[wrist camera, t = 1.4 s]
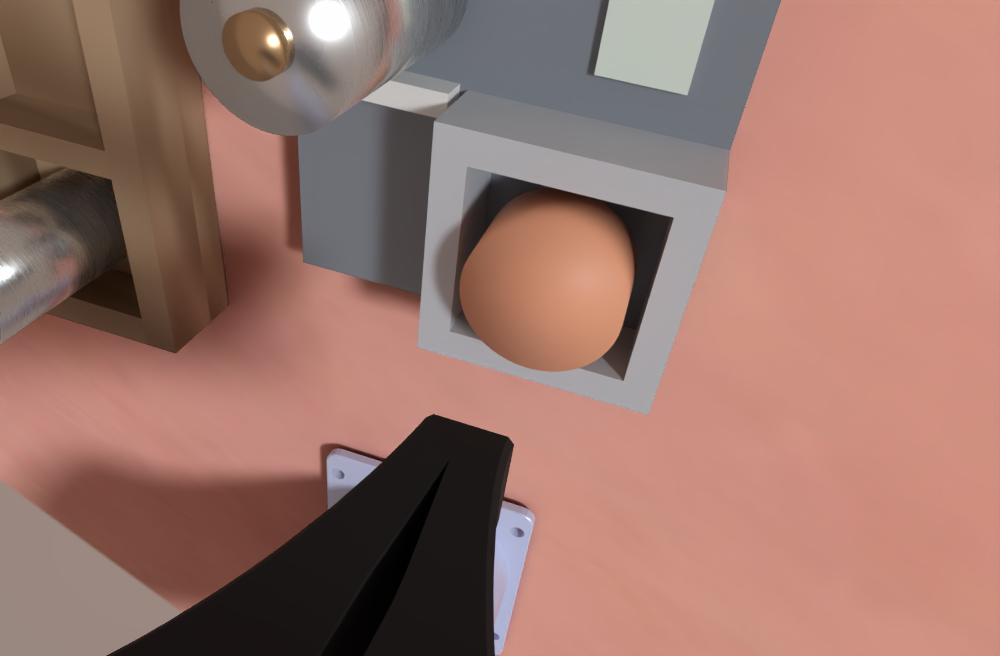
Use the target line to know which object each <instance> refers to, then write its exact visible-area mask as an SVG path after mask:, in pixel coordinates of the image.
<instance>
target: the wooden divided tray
mask: <svg viewBox="0 0 1000 656" xmlns="http://www.w3.org/2000/svg"><path fill="white" fill-rule="evenodd" d="M65 168H70V169H74V170H78V171H81V172H85V173H89V174H92V175H96V176H100V177H103V178H107V179H111V180H112V185H113V190H114V194H115V199H116V203H117V208H118V212H119V217H120V222H121V226H122V231H123V235H124V240H125V244H126V249H127V254H128V256H127V257H126V258H125V259H123V260H122V261H120V262H119V263H117V264H116V265H114V266H113V267H112V268H110V269H109V270H107V271H106V272H104V273H103V274H101V275H100V276H98V277H97V278H96V279H94V280H93V281H91V282H90V283H88V284H87V285H85V286H84V287H83V288H81V289H80V290H78V291H77V292H75V293H74V294H72V295H71V296H70V297H68V298H67V299H65V300H64V301H62V302H61V303H59V304H58V305H56V306H55V307H54V308H52V309H51V310H49V311H48V312H46V313H47V314H51V315H54V316H57V317H60V318H64V319H67V320H70V321H73V322H76V323H80V324H83V325H86V326H89V327H93V328H96V329H99V330H102V331H105V332H109V333H112V334H115V335H118V336H122V337H125V338H128V339H131V340H134V341H138V342H141V343H144V344H147V345H151V346H154V347H157V348H160V349H163V350H167V351H170V352H173V353H177V352H178V351H179V350H180V349H181V348H182V347H183V346H184V345H186V344H187V343H188V342H189V341H190V340H191V339H192V338H193V337H194V336H195V335H196V334H198V333H199V332H200V331H201V330H202V329H203V328H204V327H205V326H206V325H207V324H209V323H210V322H211V321H212V320H213V319H214V318H215V317H216V316H217V315H218V314H220V313H221V312H222V311H223V310H224V309H225V308H226V307H227V306H228V298H227V290H226V282H225V274H224V266H223V258H222V250H221V243H220V235H219V227H218V219H217V211H216V203H215V195H214V187H213V179H212V171H211V163H210V155H209V147H208V139H207V131H206V123H205V115H204V107H203V99H202V91H201V83H200V75H199V73H198V72H197V70H196V68H195V66H194V64H193V62H192V60H191V57H190V55H189V52H188V50H187V47H186V43H185V40H184V37H183V32H182V27H181V20H180V0H0V201H1V200H3V199H5V198H7V197H9V196H11V195H13V194H15V193H17V192H19V191H21V190H23V189H25V188H27V187H29V186H31V185H33V184H35V183H37V182H39V181H41V180H43V179H45V178H47V177H49V176H51V175H53V174H55V173H57V172H59V171H61V170H63V169H65Z"/></svg>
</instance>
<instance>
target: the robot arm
mask: <svg viewBox="0 0 1000 656" xmlns="http://www.w3.org/2000/svg"><path fill="white" fill-rule="evenodd" d="M513 447H514V444H513V443H512V441H511V440H510V439H509V437H507V436H503V435H500V434H497V433H493V432H490V431H487V430H484V429H480V428H477V427H474V426H471V425H467V424H464V423H461V422H457V421H454V420H451V419H448V418H444V417H441V416H438V415H435V414H433V415H431V416H428V417H426V418H425V419H424V420H423V421H422V423H421V424H420V425H419V426H418V427H417V428H416V429H415V430H414V431H413V432H412V433H411V434H410V435H409V436H408V437H407V438H406V439H405V440H404V441H403V442H402V443H401V444H400V445H399V446H398V447H397V448H396V449H395V450H394V451H393V452H392V453H391V454H390V455H389V456H388V457H387V458H386V459H385V460H384V461H383V462H381V461H378V460H375V459H372V458H369V457H366V456H363V455H359V454H356V453H353V452H350V451H347V450H344V449H339V448H337V449H333V450H332V451H331V452H330V453H329V455H328V456H327V459H326V465H327V500H328V510H327V511H326V512H325V513H323V514H322V515H321V516H320V517H318V518H317V519H316V520H314V521H313V522H312V523H311V524H309V525H308V526H307V527H306V528H304V529H303V530H302V531H300V532H299V533H298V534H297V535H295V536H294V537H293V538H292V539H290V540H289V541H288V542H286V543H285V544H284V545H283V546H281V547H280V548H279V549H277V550H276V551H274V552H273V553H272V554H270V555H269V556H268V557H266V558H265V559H263V560H262V561H261V562H259V563H258V564H256V565H255V566H253V567H252V568H251V569H249V570H248V571H246V572H245V573H243V574H242V575H240V576H239V577H237V578H236V579H234V580H233V581H231V582H230V583H228V584H227V585H226V586H224V587H223V588H221V589H219V590H218V591H216V592H215V593H213V594H212V595H210V596H208V597H207V598H205V599H204V600H202V601H200V602H199V603H197V604H196V605H194V606H192V607H191V608H189V609H187V610H186V611H184V612H183V613H181V614H179V615H178V616H176V617H175V618H173V619H171V620H170V621H168V622H166V623H165V624H163V625H161V626H159V627H158V628H156V629H154V630H153V631H151V632H149V633H148V634H146V635H144V636H142V637H140V638H139V639H137V640H135V641H133V642H131V643H129V644H128V645H126V646H124V647H122V648H120V649H118V650H116V651H114V652H112V653H111V654H109V655H107V656H495V655H498V654H500V653H501V652H502V650H503V647H504V643H505V639H506V635H507V631H508V627H509V623H510V619H511V615H512V611H513V607H514V603H515V599H516V595H517V591H518V587H519V583H520V579H521V575H522V571H523V567H524V563H525V559H526V555H527V551H528V547H529V543H530V539H531V535H532V531H533V527H534V523H535V516H534V515H533V513H532V512H531V511H530V510H529V509H527V508H525V507H522V506H519V505H515V504H512V503H509V502H506V501H503V497H504V492H505V487H506V482H507V477H508V472H509V467H510V462H511V457H512V452H513ZM519 528H520V529H519Z"/></svg>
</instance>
